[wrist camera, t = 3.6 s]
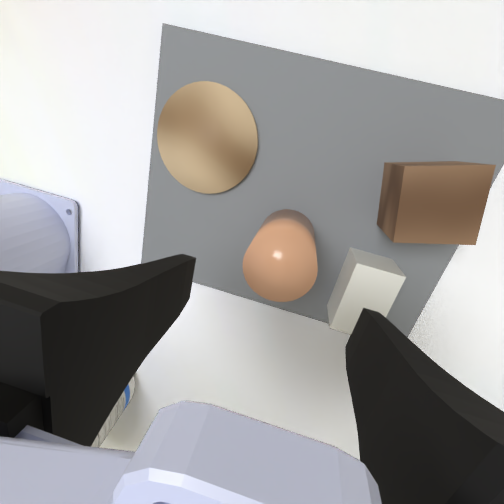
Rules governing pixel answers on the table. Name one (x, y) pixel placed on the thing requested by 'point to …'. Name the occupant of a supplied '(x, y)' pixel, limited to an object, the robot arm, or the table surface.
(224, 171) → the cork pad
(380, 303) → the pale grey plastic box
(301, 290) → the terracotta cylinder
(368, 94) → the felt mat
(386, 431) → the robot arm
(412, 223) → the walnut cube
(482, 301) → the table surface
